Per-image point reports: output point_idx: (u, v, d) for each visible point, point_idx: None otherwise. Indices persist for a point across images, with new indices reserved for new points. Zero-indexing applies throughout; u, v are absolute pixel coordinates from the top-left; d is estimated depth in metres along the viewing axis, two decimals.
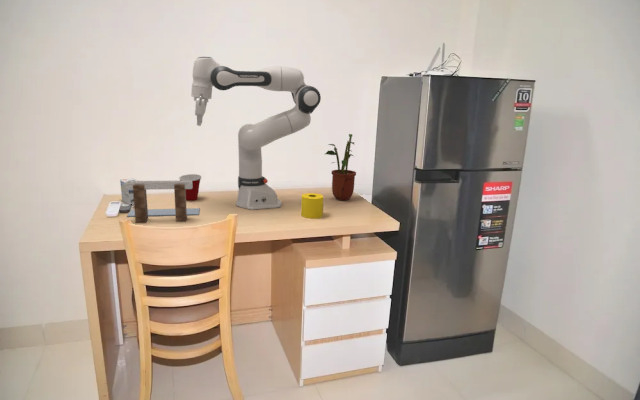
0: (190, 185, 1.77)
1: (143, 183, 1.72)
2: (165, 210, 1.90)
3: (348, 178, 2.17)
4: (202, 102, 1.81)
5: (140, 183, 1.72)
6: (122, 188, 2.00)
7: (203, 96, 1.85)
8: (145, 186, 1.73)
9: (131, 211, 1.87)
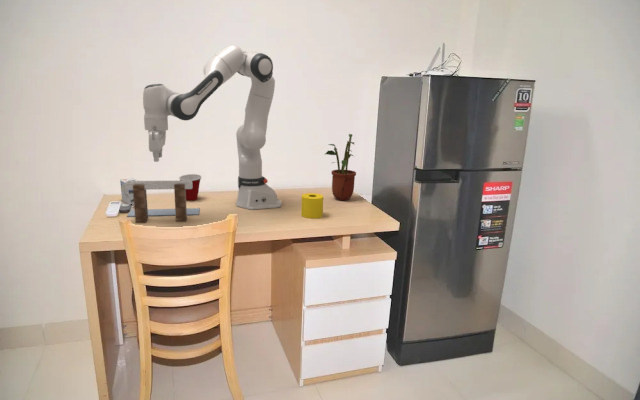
0: (190, 185, 1.77)
1: (143, 183, 1.72)
2: (165, 210, 1.90)
3: (348, 178, 2.17)
4: (155, 136, 1.61)
5: (140, 183, 1.72)
6: (122, 188, 2.00)
7: (157, 128, 1.65)
8: (145, 186, 1.73)
9: (131, 211, 1.87)
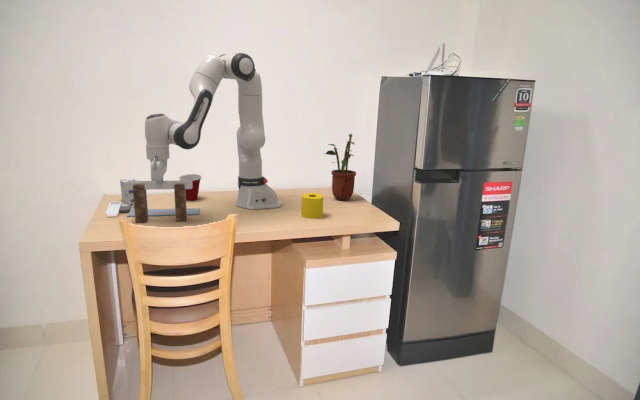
0: (190, 185, 1.77)
1: (143, 183, 1.72)
2: (165, 210, 1.90)
3: (348, 178, 2.17)
4: (157, 166, 1.64)
5: (140, 183, 1.72)
6: (122, 188, 2.00)
7: (159, 158, 1.68)
8: (145, 186, 1.73)
9: (131, 211, 1.87)
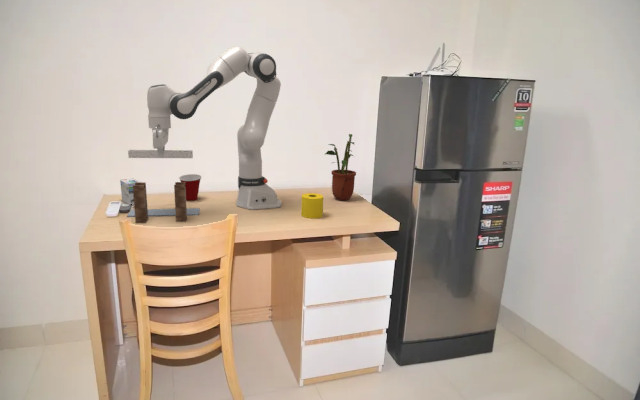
0: (190, 154, 1.83)
1: (145, 152, 1.78)
2: (165, 210, 1.90)
3: (348, 178, 2.17)
4: (159, 134, 1.70)
5: (142, 152, 1.78)
6: (122, 188, 2.00)
7: (161, 127, 1.74)
8: (147, 155, 1.79)
9: (131, 211, 1.87)
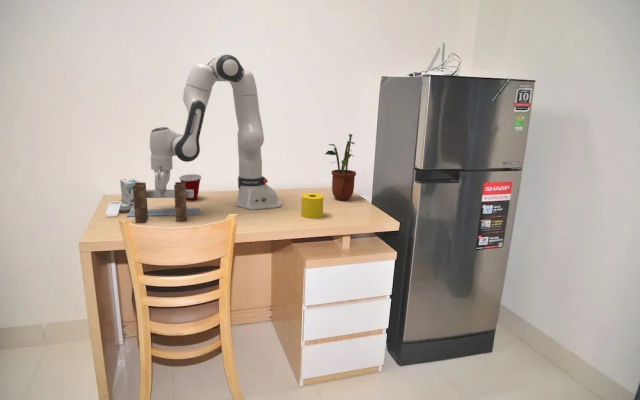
0: (191, 194, 1.88)
1: (147, 192, 1.83)
2: (165, 210, 1.90)
3: (348, 178, 2.17)
4: (161, 176, 1.75)
5: None
6: (122, 188, 2.00)
7: (163, 168, 1.79)
8: (149, 195, 1.84)
9: (131, 211, 1.87)
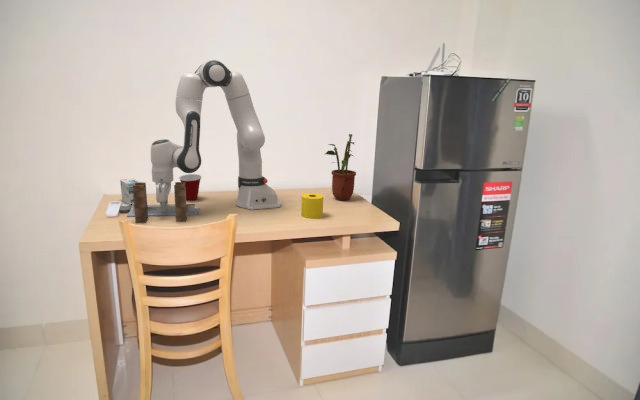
0: (193, 208, 1.89)
1: (149, 207, 1.85)
2: None
3: (348, 178, 2.17)
4: (162, 189, 1.76)
5: None
6: (122, 188, 2.00)
7: (164, 181, 1.81)
8: (151, 210, 1.86)
9: (131, 211, 1.87)
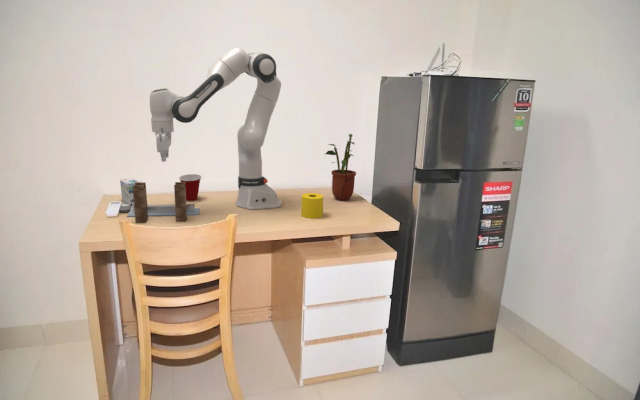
0: (193, 208, 1.89)
1: (149, 207, 1.85)
2: None
3: (348, 178, 2.17)
4: (163, 138, 1.72)
5: None
6: (122, 188, 2.00)
7: (164, 130, 1.76)
8: (151, 210, 1.86)
9: (131, 211, 1.87)
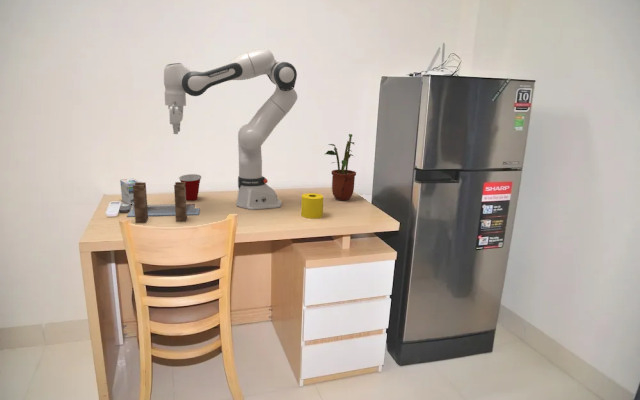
0: (193, 208, 1.89)
1: (149, 207, 1.85)
2: None
3: (348, 178, 2.17)
4: (176, 110, 1.78)
5: None
6: (122, 188, 2.00)
7: (177, 104, 1.82)
8: (151, 210, 1.86)
9: (131, 211, 1.87)
